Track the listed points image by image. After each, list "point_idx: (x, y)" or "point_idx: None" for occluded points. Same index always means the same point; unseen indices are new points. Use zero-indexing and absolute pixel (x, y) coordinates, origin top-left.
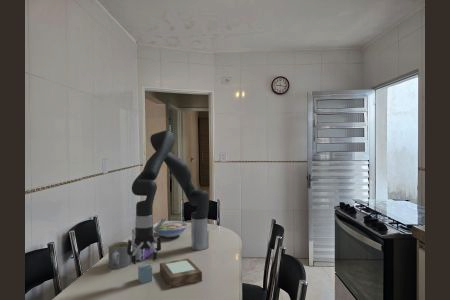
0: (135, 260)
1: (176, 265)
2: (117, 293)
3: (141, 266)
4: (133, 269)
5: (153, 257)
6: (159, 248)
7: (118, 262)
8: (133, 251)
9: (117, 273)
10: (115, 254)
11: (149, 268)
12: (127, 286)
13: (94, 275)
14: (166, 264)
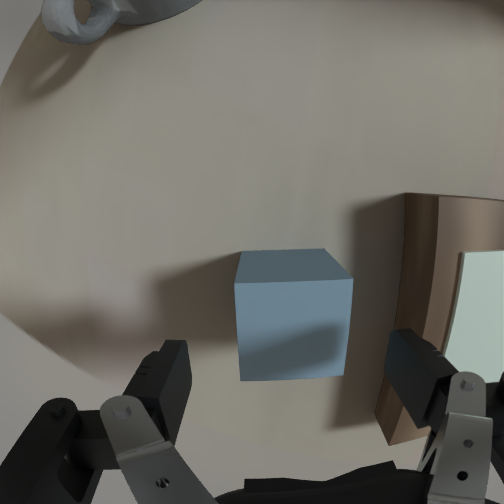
0: (184, 408)
1: (495, 309)
2: (124, 378)
3: (262, 320)
4: (232, 61)
5: (400, 379)
6: (492, 439)
7: (122, 7)
8: (127, 439)
9: (119, 98)
10: (54, 6)
11: (320, 375)
12: (167, 331)
13: (21, 102)
14: (465, 264)
